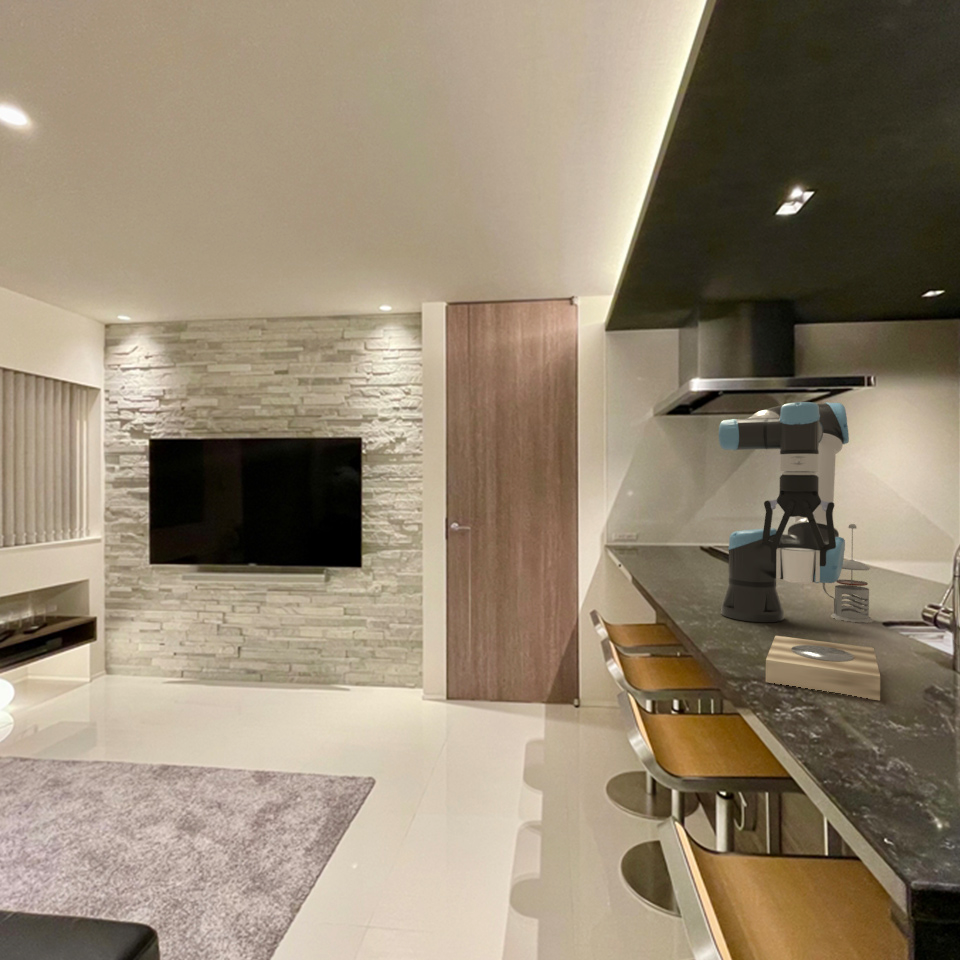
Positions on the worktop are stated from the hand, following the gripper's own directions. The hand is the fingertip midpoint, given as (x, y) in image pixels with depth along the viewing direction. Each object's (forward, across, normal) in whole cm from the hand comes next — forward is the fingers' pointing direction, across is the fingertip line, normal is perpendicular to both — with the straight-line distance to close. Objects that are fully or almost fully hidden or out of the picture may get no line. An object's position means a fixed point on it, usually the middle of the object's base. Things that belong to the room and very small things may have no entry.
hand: (797, 579), depth 132 cm
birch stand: (+14, +5, -20) cm, 25 cm away
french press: (+15, +10, +39) cm, 43 cm away
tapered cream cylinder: (+1, 0, 0) cm, 1 cm away
